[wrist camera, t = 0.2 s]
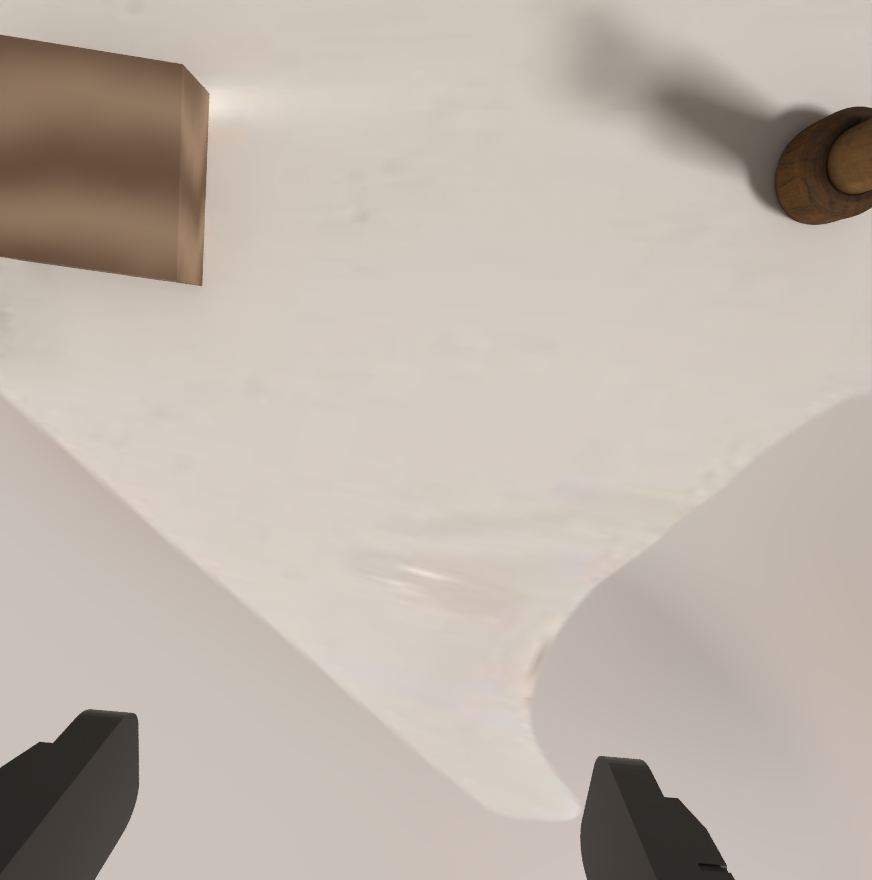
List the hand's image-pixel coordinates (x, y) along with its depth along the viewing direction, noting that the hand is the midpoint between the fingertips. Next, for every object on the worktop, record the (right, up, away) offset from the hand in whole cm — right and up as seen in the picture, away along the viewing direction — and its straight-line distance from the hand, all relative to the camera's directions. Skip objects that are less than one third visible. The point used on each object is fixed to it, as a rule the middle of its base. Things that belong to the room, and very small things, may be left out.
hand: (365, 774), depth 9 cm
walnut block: (-20, +23, +25) cm, 39 cm away
